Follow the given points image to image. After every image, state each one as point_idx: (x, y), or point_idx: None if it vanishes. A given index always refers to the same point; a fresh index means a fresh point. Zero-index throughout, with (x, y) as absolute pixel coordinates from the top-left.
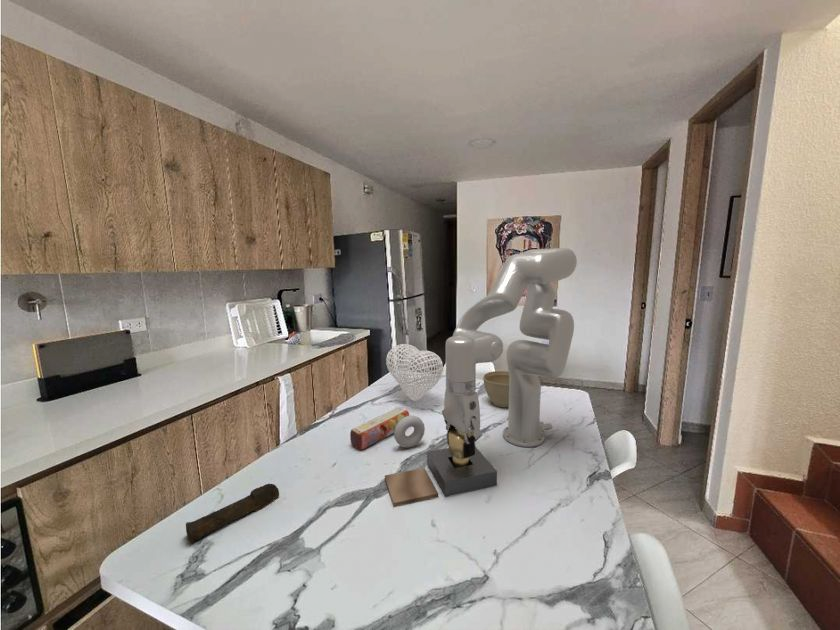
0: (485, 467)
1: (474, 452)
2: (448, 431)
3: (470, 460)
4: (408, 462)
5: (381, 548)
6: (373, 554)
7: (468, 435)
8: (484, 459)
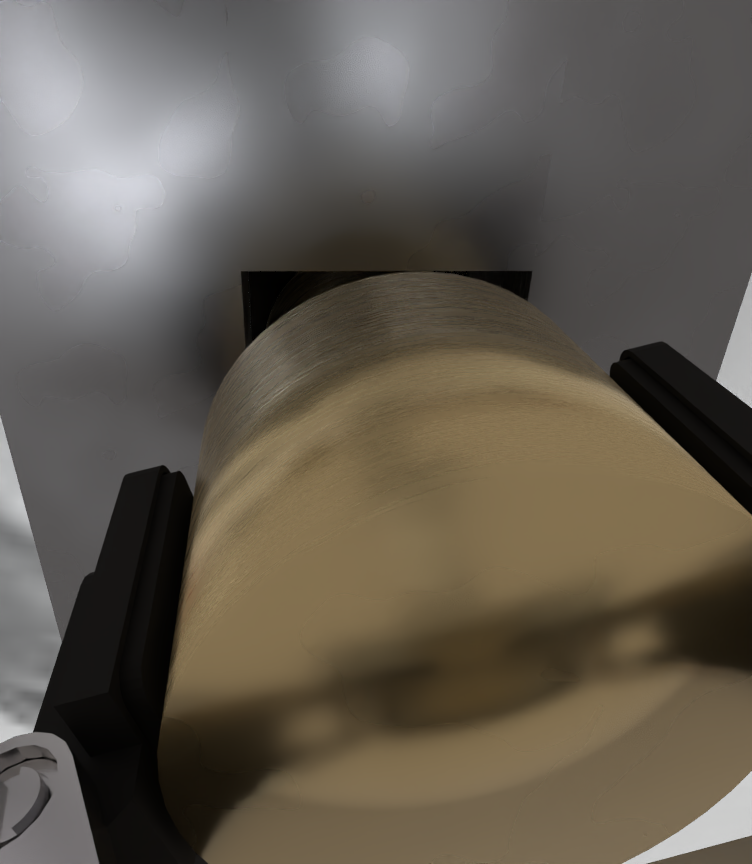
0: (673, 133)
1: (674, 359)
2: (196, 861)
3: (427, 267)
4: (31, 681)
5: (709, 813)
6: (716, 832)
7: (666, 617)
8: (492, 22)
